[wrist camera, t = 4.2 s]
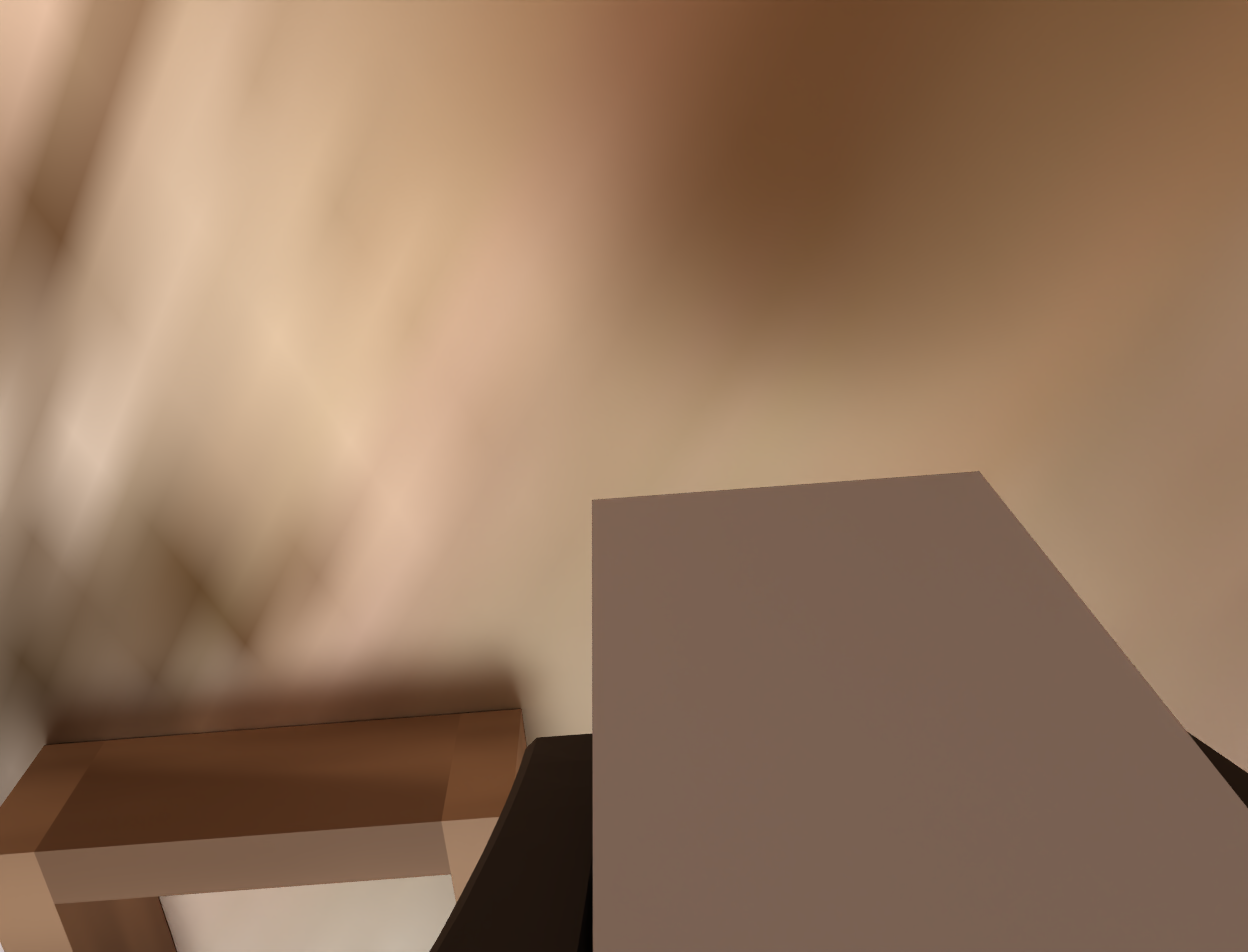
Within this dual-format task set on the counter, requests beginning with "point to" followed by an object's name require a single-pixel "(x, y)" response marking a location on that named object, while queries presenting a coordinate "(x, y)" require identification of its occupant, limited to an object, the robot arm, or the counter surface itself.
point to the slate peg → (883, 738)
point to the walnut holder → (242, 819)
